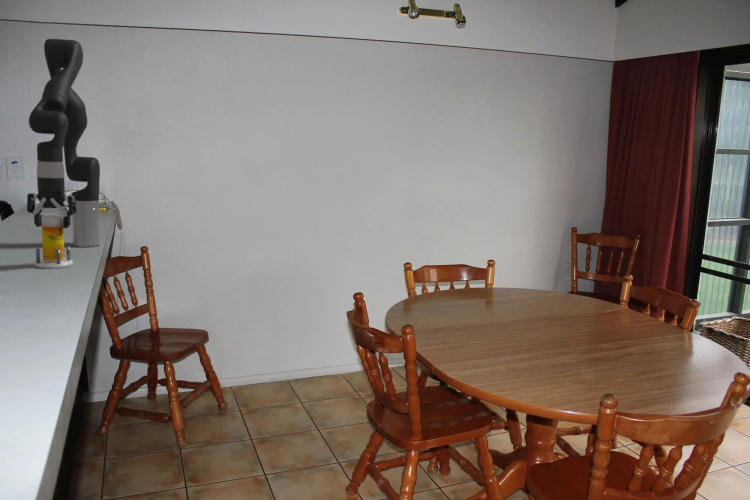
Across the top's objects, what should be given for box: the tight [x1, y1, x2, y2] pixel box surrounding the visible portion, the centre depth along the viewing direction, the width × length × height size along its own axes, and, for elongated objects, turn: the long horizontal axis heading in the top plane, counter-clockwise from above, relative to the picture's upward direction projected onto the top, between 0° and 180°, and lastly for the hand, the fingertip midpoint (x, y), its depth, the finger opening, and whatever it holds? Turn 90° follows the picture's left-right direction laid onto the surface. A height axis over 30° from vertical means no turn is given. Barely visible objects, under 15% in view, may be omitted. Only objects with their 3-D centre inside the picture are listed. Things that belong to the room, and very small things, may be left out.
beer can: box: [41, 213, 66, 263], centre depth 190 cm, size 6×6×15 cm
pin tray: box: [33, 245, 74, 270], centre depth 191 cm, size 11×11×6 cm
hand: (52, 227), depth 189 cm, fingers open, 8 cm apart
